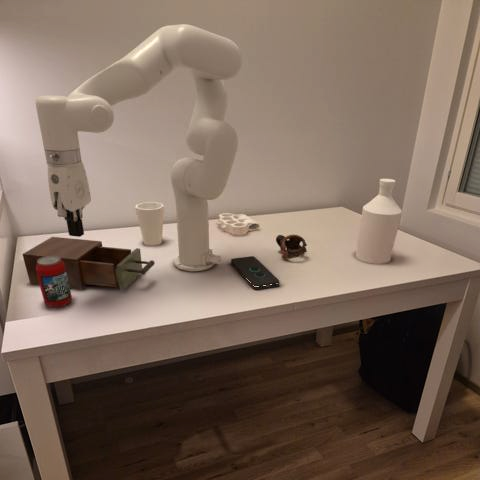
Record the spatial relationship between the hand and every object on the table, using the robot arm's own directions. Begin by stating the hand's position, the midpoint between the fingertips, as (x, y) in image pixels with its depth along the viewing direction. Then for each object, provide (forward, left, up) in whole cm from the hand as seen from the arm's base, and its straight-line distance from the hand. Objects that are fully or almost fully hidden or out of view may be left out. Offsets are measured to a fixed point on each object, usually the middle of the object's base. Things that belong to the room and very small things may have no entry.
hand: (76, 235), depth 104 cm
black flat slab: (-36, -31, -17) cm, 51 cm away
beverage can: (+5, +6, -17) cm, 19 cm away
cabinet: (+13, -8, -17) cm, 23 cm away
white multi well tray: (-15, -69, -17) cm, 73 cm away
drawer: (-2, -11, -16) cm, 19 cm away
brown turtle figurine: (-42, -50, -17) cm, 68 cm away
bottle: (-68, -60, -17) cm, 93 cm away
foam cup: (+6, -42, -17) cm, 46 cm away
